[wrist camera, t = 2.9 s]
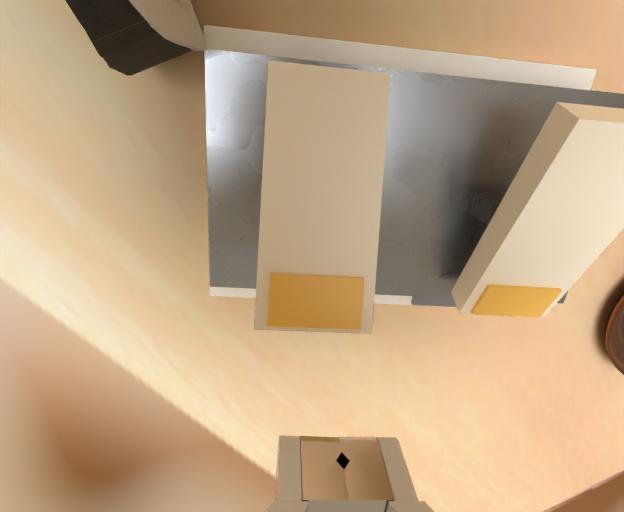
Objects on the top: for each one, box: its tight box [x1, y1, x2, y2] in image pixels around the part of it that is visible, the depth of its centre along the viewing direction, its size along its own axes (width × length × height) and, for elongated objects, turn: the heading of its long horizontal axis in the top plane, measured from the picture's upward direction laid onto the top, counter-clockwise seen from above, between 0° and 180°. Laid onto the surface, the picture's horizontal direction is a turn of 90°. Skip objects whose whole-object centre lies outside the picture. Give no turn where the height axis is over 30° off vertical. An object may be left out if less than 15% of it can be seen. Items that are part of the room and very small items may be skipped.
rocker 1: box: [254, 60, 391, 334], centre depth 15 cm, size 10×5×2 cm, turn 176°
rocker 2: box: [451, 102, 624, 317], centre depth 16 cm, size 10×5×2 cm, turn 174°
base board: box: [204, 25, 597, 307], centre depth 23 cm, size 16×22×1 cm
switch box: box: [204, 49, 624, 303], centre depth 19 cm, size 11×20×7 cm, turn 85°
